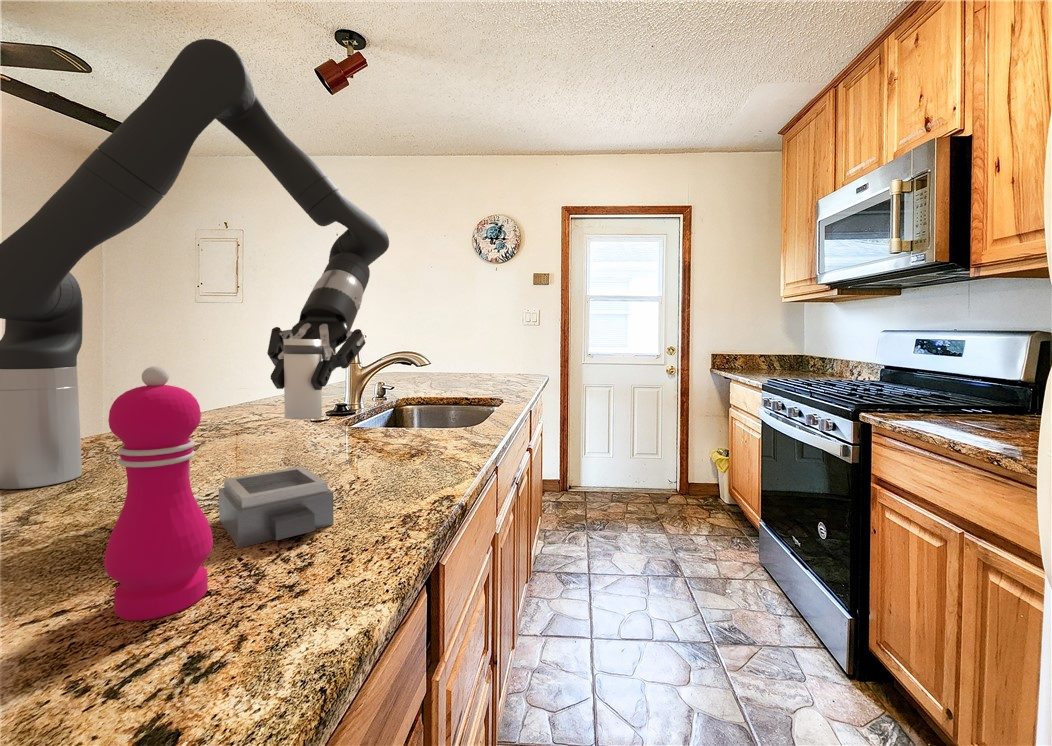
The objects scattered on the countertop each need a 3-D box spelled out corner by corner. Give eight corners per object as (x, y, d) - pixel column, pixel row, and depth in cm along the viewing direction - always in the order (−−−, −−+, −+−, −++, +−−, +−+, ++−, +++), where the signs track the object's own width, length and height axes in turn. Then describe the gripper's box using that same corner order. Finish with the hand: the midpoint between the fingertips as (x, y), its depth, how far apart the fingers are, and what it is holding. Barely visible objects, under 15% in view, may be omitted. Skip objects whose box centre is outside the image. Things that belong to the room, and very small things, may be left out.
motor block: (219, 520, 57) (218, 478, 57) (305, 502, 64) (305, 465, 64) (244, 556, 48) (242, 506, 48) (341, 530, 55) (340, 487, 55)
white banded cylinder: (279, 415, 67) (278, 338, 66) (315, 412, 70) (314, 339, 69) (290, 420, 63) (289, 339, 62) (327, 417, 67) (327, 339, 66)
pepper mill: (233, 587, 42) (228, 365, 41) (146, 634, 35) (135, 370, 34) (177, 572, 45) (170, 362, 43) (85, 614, 38) (73, 366, 36)
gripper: (281, 284, 73) (232, 366, 62) (372, 286, 73) (339, 369, 61) (298, 320, 79) (256, 401, 67) (383, 322, 78) (355, 403, 67)
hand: (296, 385), depth 64 cm, fingers closed on white banded cylinder, 4 cm apart
